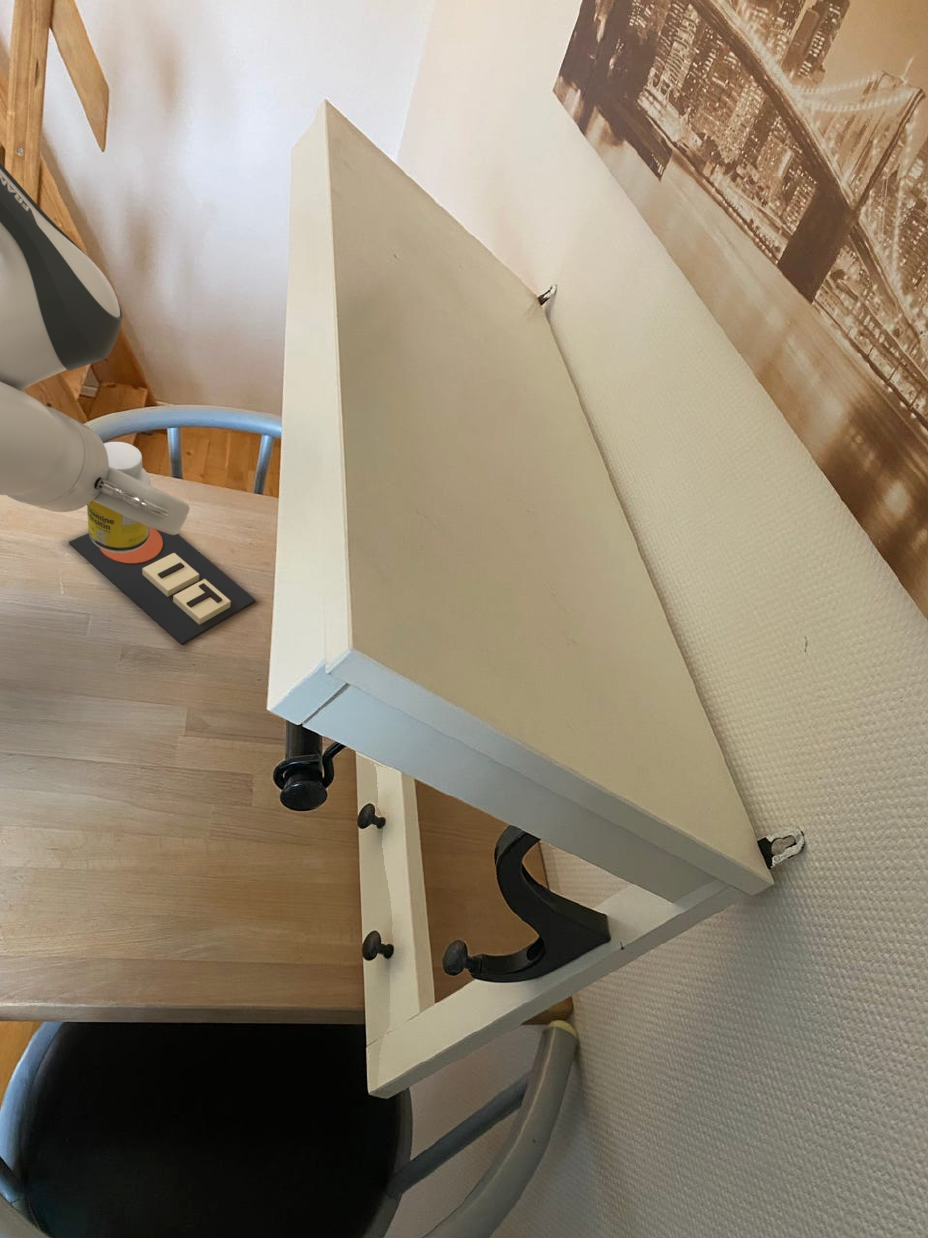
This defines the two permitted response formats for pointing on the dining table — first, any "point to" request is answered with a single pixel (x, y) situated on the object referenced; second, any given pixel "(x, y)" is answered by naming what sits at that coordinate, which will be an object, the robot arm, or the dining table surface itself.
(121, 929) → the dining table surface
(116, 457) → the pill bottle
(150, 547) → the letter mat
